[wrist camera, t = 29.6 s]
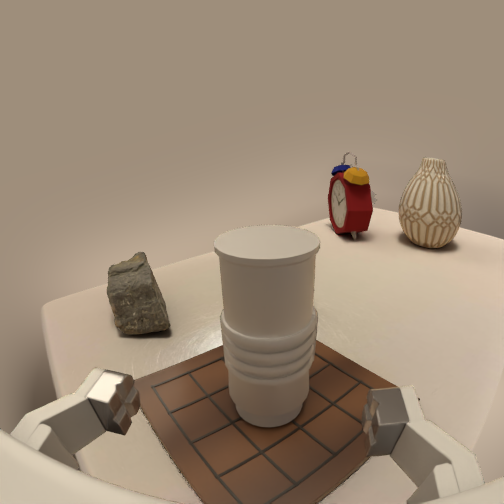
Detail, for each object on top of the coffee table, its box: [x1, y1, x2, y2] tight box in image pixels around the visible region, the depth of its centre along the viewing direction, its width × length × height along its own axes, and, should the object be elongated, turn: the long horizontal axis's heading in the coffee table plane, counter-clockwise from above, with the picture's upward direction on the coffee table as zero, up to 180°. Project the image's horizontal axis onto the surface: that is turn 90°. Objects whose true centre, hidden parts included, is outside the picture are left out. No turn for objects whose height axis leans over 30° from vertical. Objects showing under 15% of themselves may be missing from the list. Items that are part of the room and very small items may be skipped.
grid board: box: [133, 340, 420, 504], centre depth 26 cm, size 20×20×1 cm
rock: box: [107, 252, 171, 334], centre depth 42 cm, size 17×7×10 cm
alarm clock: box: [328, 151, 377, 240], centre depth 70 cm, size 15×9×20 cm, turn 4°
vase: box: [399, 157, 462, 248], centre depth 62 cm, size 16×16×20 cm
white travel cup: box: [214, 225, 320, 427], centre depth 22 cm, size 7×7×15 cm
